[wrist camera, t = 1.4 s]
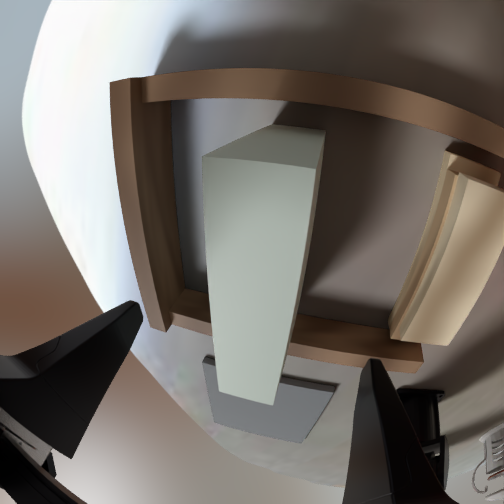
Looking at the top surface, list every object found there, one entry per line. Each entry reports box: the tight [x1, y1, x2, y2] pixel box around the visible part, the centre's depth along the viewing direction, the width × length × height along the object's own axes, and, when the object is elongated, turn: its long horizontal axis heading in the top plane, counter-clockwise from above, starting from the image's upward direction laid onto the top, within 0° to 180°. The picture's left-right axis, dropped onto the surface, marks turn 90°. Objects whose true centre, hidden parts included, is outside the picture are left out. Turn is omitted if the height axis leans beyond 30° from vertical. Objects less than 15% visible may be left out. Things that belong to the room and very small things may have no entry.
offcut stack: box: [388, 150, 504, 346], centre depth 14 cm, size 4×13×4 cm, turn 178°
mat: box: [202, 357, 334, 443], centre depth 31 cm, size 14×18×1 cm
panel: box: [202, 124, 326, 405], centre depth 14 cm, size 3×12×9 cm, turn 178°
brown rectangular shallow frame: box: [110, 68, 504, 373], centre depth 15 cm, size 22×18×4 cm
